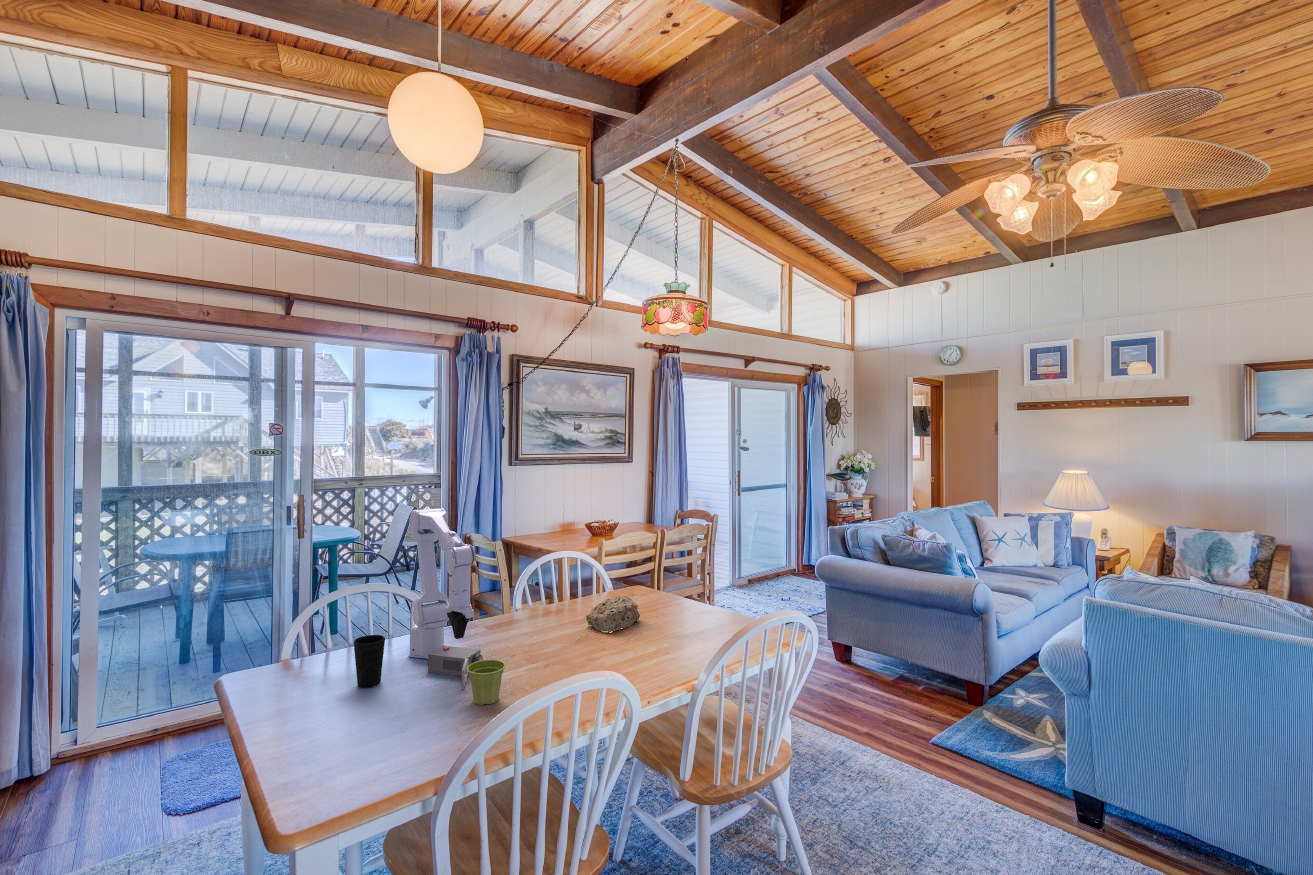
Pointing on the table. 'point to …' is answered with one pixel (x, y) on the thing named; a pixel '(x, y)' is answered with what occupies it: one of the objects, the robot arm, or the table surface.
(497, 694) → the plant pot
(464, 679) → the side door
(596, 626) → the rock
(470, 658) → the camera body
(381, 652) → the cup
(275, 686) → the table surface
